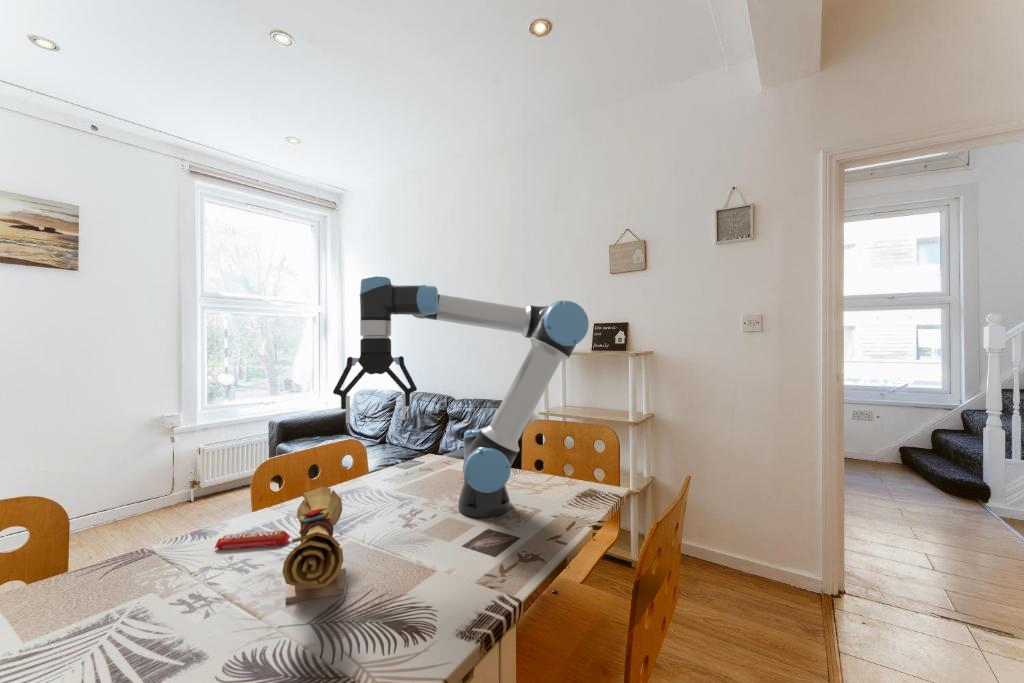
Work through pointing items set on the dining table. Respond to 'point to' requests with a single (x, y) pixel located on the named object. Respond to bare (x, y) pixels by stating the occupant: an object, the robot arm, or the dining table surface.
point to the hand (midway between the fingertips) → (376, 420)
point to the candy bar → (252, 540)
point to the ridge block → (317, 589)
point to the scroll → (315, 541)
